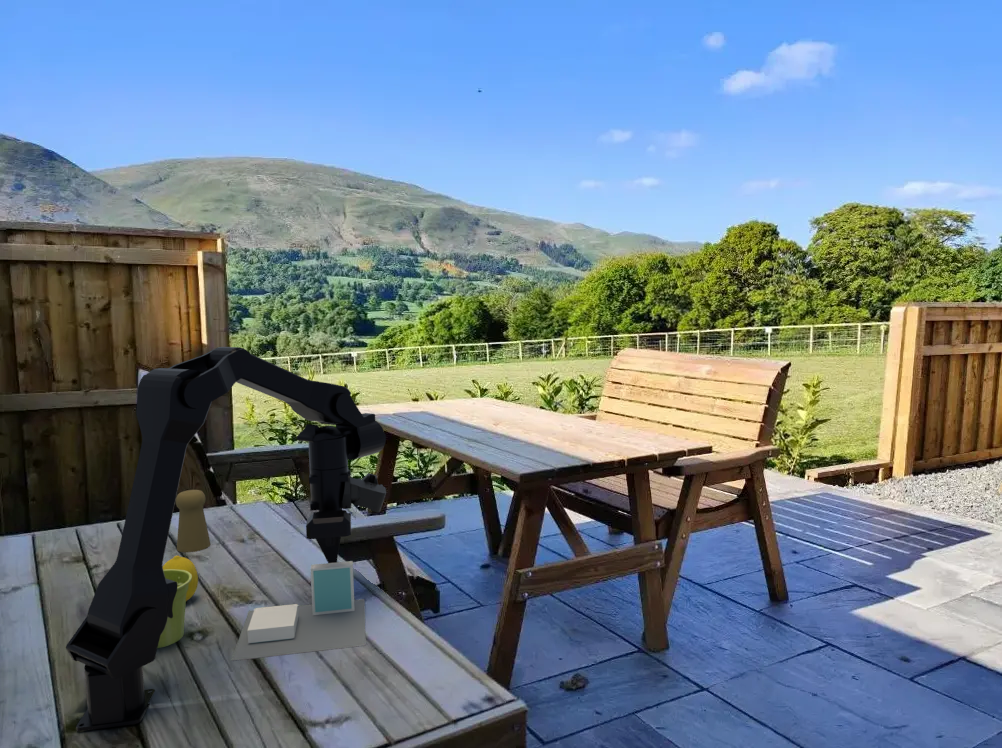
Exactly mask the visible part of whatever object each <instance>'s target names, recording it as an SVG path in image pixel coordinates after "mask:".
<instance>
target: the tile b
mask: <svg viewBox="0 0 1002 748" xmlns="http://www.w3.org/2000/svg"><path fill="white" fill-rule="evenodd" d="M353 563H354V562H353V560H350V561H339V562H338V561H337V562H336V563H328V562H327V563H316V564H315V563H314V564H311V565H310V584H311V587H310V589H311V604H312V609H313V615H320V614H330V613H339V612H349V611H354V609H355V605H354V600H355V587H354V586H355V585H354V566H353V565H354V564H353Z"/></svg>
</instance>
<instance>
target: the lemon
mask: <svg viewBox="0 0 1002 748" xmlns="http://www.w3.org/2000/svg"><path fill="white" fill-rule="evenodd" d="M162 566H163V570H166V569H177V570H185V571H187V572H189V573H190V574H191V575H192V579H191V582H190V583H189V587H188V591H187V593H186V602H187V601H188V600H190V599H191V598H192V597H193V596H194V595H195V593H196V591H197V589H198V584H199V576H198V571H197V569H196V568H197V567H196V565H195V564H194V562H193V561H191V559H188V557H184V556H180V555H174V556H173V557H172V558H171V559H169V560H167V561H166V562H165V563H163V565H162Z"/></svg>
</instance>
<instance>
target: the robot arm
mask: <svg viewBox="0 0 1002 748" xmlns="http://www.w3.org/2000/svg"><path fill="white" fill-rule="evenodd" d="M236 383H237V384H239V385H242V386H244V387H247V388H250V389H252V390H254V391H257V392H259V393H262V394H263V395H264V394H265V395H267V396H269V397H272V398H274V399H277V400H279V401H281V402H284V403H285V404H287V405H288V406H289V407H290V408H291V410H292V411H293V412H294V413H296V414H297V415H299V417H302V418H303V419H305V420H306V421H308V422H309V421H311V422H318V423H319V424H321V425H324V426H319V425H317V424H310V423H308V424H306V425H305V426H304V428H303V430H302V431H300V432H299V434H298V435H297V436H296V440H297V441H298V442H299V441H300V442H308V458H309V459H308V460H309V464H308V465H309V475H308V484H309V485H310V502H309V503H310V504H309V506H310V507H309V508H310V511H314V512H312V513H311V515H309V516H308V518H307V520H306V524H305V531H306V532H305V533H306V539H308V540H316V543H317V545H318V546H319V548H320V550H321V552H322V553H323V555H324V557H325V559H326V562H327V563H336V562H338V556H339V551H340V544H341V538H343V537H348V536H351V535H352V513H350V512H347V510H350V509H352V505H355V506H357V507H361V508H365V509H367V510H370V511H371V512H375V513H380V512H381V510H382V506H383V503H384V502H385V498H386V495H387V489H386V487H385V486H384V485H383V484H381V483H380V484H379V482H378V476H377V474H373V473H369V472H368V473H366V475H365V476H363V477H362V478H360V477H359V478H354V477H351V469H349V465H348V464H349V463H348V461H349V460H350V461H353V460H357V459H360V458H364V457H367V456H370V455H374V454H378V453H380V452H381V451H382V450H383V449H384V447H385V445H386V440H387V439H386V438H387V436H386V433H385V432H384V431H385V430H384V429H383V426H382V425H381V424H380V423H379V422H378V421H377V420H376V414H375V413H370V412H364V413H361V411H360V410H359V408H358V406H357V404H356V403H355V401H354V400H353V398H352V395H351V394H352V392H351V390H349V389H348V388H347V387H346V386H344V385H338V384H335V383H330V382H329V383H328V382H324V381H317V380H316V381H315V380H311V379H307V378H304V377H303V376H301V375H299V374H296V373H294V372H291V371H290V370H287V369H285V368H283V367H281V366H278V365H276V364H274V363H272V362H270V361H268V360H265V359H263V358H261V357H258V356H257V355H254V354H252V353H250V351H248V350H247V349H246V348H244V347H239V346H237V347H236V346H220V347H216V348H214V349H212V350H211V351H208V352H207V353H205V354H203V355H199V356H196V357H193V358H191V359H188V360H185V361H182V362H179V363H176V364H174V365H172V366H170V367H168V368H167V367H164V368H163V367H158V368H155V369H152V370H150V371H149V372H147V373H146V374H144V375H142V377H141V378H140V381H139V383H138V385H137V391H136V393H137V394H136V395H137V396H136V412H135V413H136V414H135V415H136V418H137V422H138V426H139V428H140V429H139V430H140V433H141V437H142V441H141V446H140V451H139V457H138V461H137V466H136V469H135V473H134V474H135V475H134V479H133V484H132V488H131V491H130V492H131V493H130V497H129V501H128V505H127V510H126V514H125V515H126V516H125V520H124V524H123V529H122V533H121V537H120V544H119V546H118V552H117V556H116V559H115V561H114V563H113V564H112V566H111V567H110V569H109V570H108V571H107V572H106V574H105V575H104V576H103V577H102V579H101V580H100V581H99V583H98V584H97V587H96V590H95V592H94V595H93V597H92V600H91V603H90V605H89V608H88V610H87V615H86V617H85V619H84V620H83V621H82V623H81V624H80V625H79V626H78V628H77V629H76V631H75V632H74V634H73V635H72V637H71V638H70V640H69V641H68V642H67V644H66V646H65V649H66V651H67V653H68V655H69V656H70V658H71V660H72V661H74V662H79V663H82V664H84V669H83V670H84V680H85V681H84V682H85V691H86V703H87V705H86V706H87V709H86V711H85V712H84V714H83V716H82V717H81V718H80V720H79V722H77V725H76V726H75V730H76V731H77V732H85V731H93V730H99V729H106V728H115V727H122V726H130V725H136V724H139V723H141V722H142V721H143V718H144V717H145V714H146V713H147V710H148V709H149V707H150V701H151V700H152V697H153V696H154V693H155V691H156V690H155V689H154V688H148V689H145V681H144V679H145V678H144V668H143V667H144V666H146V665H148V664H150V663H152V662H154V661H155V660H156V659H155V658H156V655H157V651H158V648H157V647H158V643H159V639H160V635H161V634H162V632H163V631H164V629H165V626H166V623H167V619H168V618H173V612H172V607H173V601H174V598H175V595H176V592H177V582H175V581H172V580H169V579H166V578H165V575H164V571H163V565H164V557H165V553H166V552H165V551H166V548H167V542H168V538H169V534H170V530H171V529H170V528H171V524H172V518H173V514H174V509H175V505H176V497H177V495H178V490H179V485H180V480H181V476H182V471H183V465H184V462H185V461H184V460H185V456H186V451H187V447H188V445H189V443H190V442H191V441H192V439H193V438H194V437H195V435H196V434H197V433H198V432H199V430H200V429H201V428H202V426H203V425H204V424H205V422H206V418H207V416H208V413H209V411H210V407H211V405H212V403H213V402H214V401H215V400H217V399H219V398H220V397H222V396H223V395H226V394H227V393H229V391H230V390H231V389H232V388H233V386H234V385H235V384H236Z"/></svg>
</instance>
